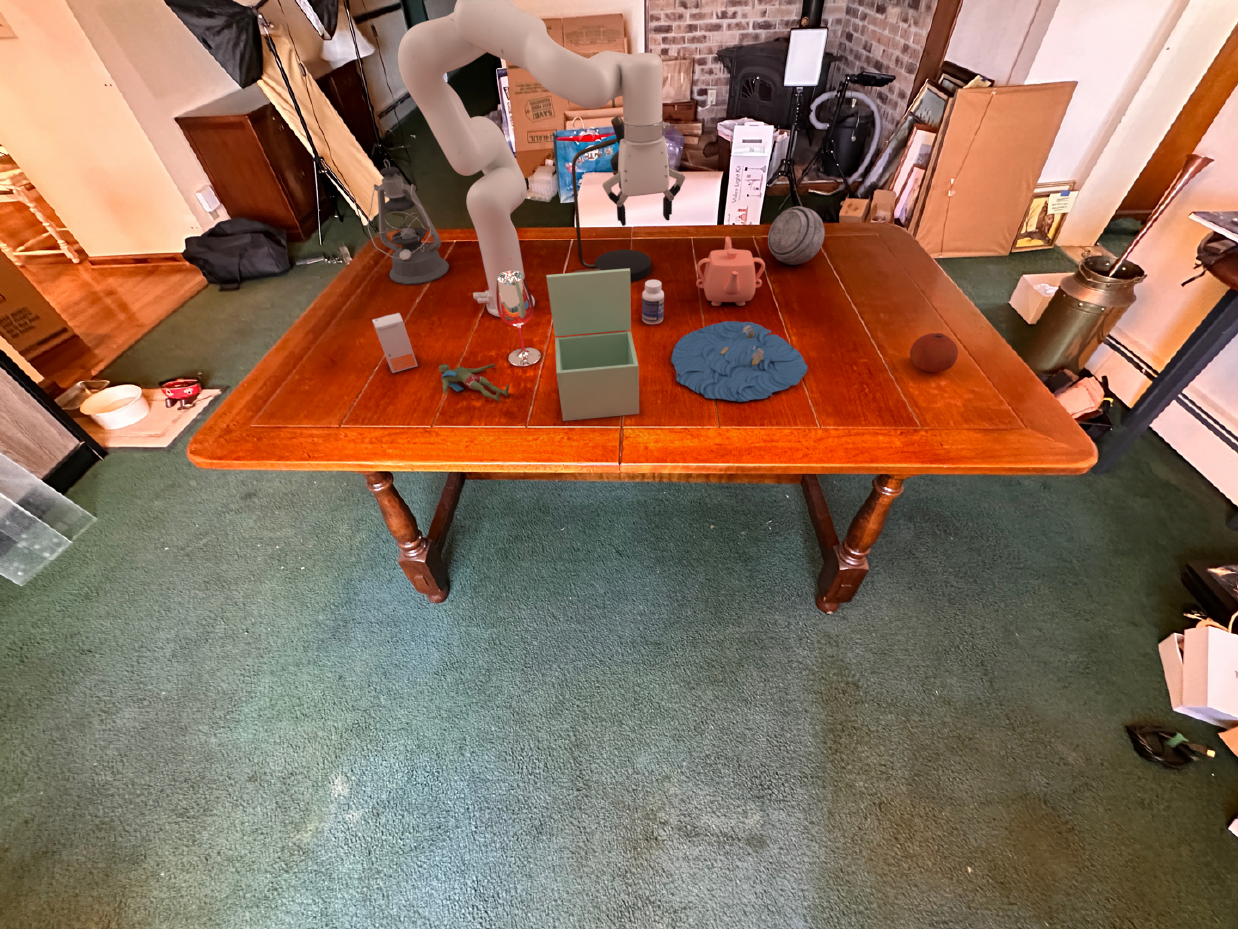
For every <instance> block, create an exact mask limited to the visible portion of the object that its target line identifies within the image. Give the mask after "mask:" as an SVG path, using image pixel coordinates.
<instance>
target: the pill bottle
mask: <svg viewBox="0 0 1238 929" xmlns="http://www.w3.org/2000/svg"><path fill="white" fill-rule="evenodd" d="M664 306H665V293H664V290H662V281H660V280H658V279H648V280H646V281H645V282H644V290H643V291H642V293H641V320H642V321H643V323H645V324H647V325H658V324H661V323H662V322H663V320H664V318H665V317H664V314H665V307H664Z"/></svg>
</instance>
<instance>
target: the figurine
mask: <svg viewBox="0 0 1238 929" xmlns="http://www.w3.org/2000/svg"><path fill="white" fill-rule="evenodd" d="M496 367H497V365H494V363H491V364H488V365H485V366H481V367H477V368H471V367H464V366H457V367H455V368H453V369H450V365H448V364H446V363H442V364H440V365H439V367H438V369H439V372H438V374H440V373H441V374H442V375H441V383H442V391H443V394H444V395H447V391H448V388H449V387H450V388H451V389H452V390H453V391H455V392H456V393H458V392H461V391H464V390H465V388H464V387H462V386H461V385H460V384H458V383H461V382H462V383H463V385H465V386H466V387H467V388H468V389H470V390H473V391H479V392H480V393H481V394H482V395H483V397H485V398H490V399H493V400H495V401H497V402H501V395H500V394H502V395H504V396H505V397H509V392H510V384H506V385H505V388H504V390H503V389H500V388H499V387H498V386H496V385H493V384H492V382H490V381H489V380H488V379H487V378H486V377H485V376H481V375H476V374H479V373H481V372H483V371H485V370H487V369H492V368H493V369H494V368H495V369H496ZM485 387H487V388H489V390H490V391H491V392H493V393H495V395H494V394H492V393H491V392H489V391H488V390H486V389H485Z"/></svg>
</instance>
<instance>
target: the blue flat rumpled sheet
mask: <svg viewBox="0 0 1238 929" xmlns="http://www.w3.org/2000/svg"><path fill="white" fill-rule="evenodd" d="M670 362H671V364H673V366H674V370H675V371H676V382H678V383H679V384H681V385H682V386H686V387H688V389H690V390H692V391H693V392H695V393H697V394H701V395H703V396H704V398H705V399H712V400H716V399H719V400H726V401H730V402H731V401H733V402H738V403H739V402H749V401H750V400H764V399H768V397H769V396H770V397H774V395H773V393H776V392H779V391H780V392H781V391H783V390H786V389H789V388H790V387H791V386H797V385H798V384H799V383H800V382H801V380H802V378H803V377H805V375H806V374H807V372H808V369H809V367H808V364H807V363H806V361H805V360H804V357H803V355H802V354H801V352H800V351H799V350H798V349H796V348H794V347H793V345H792V344H790V343H789V342H787V340H786V339H784V338H783V337H780V336H779V335H778V334H773V333H772V330H770V329H767V328H765V327H764V326H763V325H760V324H757V323H754V322H752V321H744V322H743V321H738V320H736V321H734V320H731V321H727V320H725V321H722V322H719V323H718V322H717V323H713V324H710V325H705V326H704V327H702V328H699V329H697V330H692V331H691V332H689V333H687V334H684V335H683V336H682V337H681V338H680V339H679V340H678V341H677V342H676V343H675V345H674V348H673V349H672V354H671V358H670Z"/></svg>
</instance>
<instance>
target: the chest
mask: <svg viewBox="0 0 1238 929" xmlns="http://www.w3.org/2000/svg"><path fill="white" fill-rule="evenodd" d="M554 343H555V344H554V346H555V347H554V348H555V369H556V379H557V387H558V395H559V400H560V408H561V415H562V422H568V421H579V420H587V419H588V420H589V419H599V418H609V417H610V418H611V417H617V416H618V417H620V416H631V415H640V370H639V369H640V368H639V362H638V361H639V360H638V357H637V352H636V349H635V348H636V347H635V344H634V340H633V334H632V331H631V330H624V331H613V332H601V333H590V334H578V335H567V336H555V338H554Z"/></svg>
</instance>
